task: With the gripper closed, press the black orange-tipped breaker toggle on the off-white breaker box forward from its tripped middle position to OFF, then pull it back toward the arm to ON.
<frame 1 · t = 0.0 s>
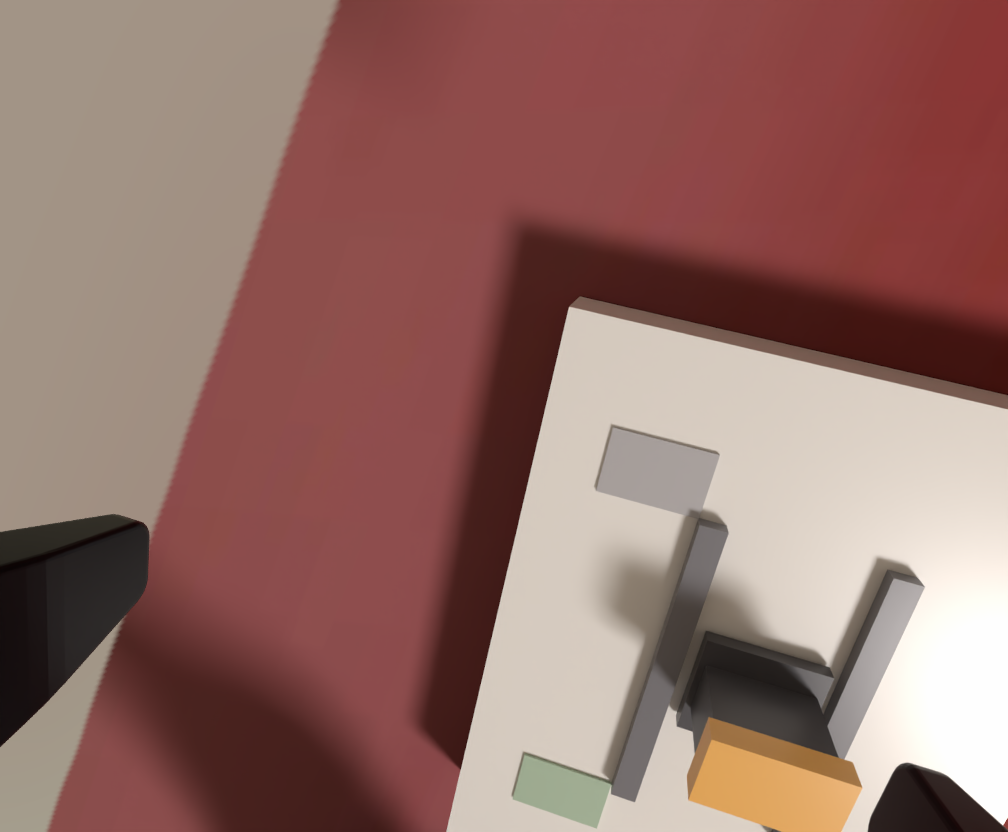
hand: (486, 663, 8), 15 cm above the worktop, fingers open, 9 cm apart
breaker box: (736, 632, 23), on the worktop
breaker toggle: (760, 738, 18), point 5 cm above the worktop, slide at 4.0 cm
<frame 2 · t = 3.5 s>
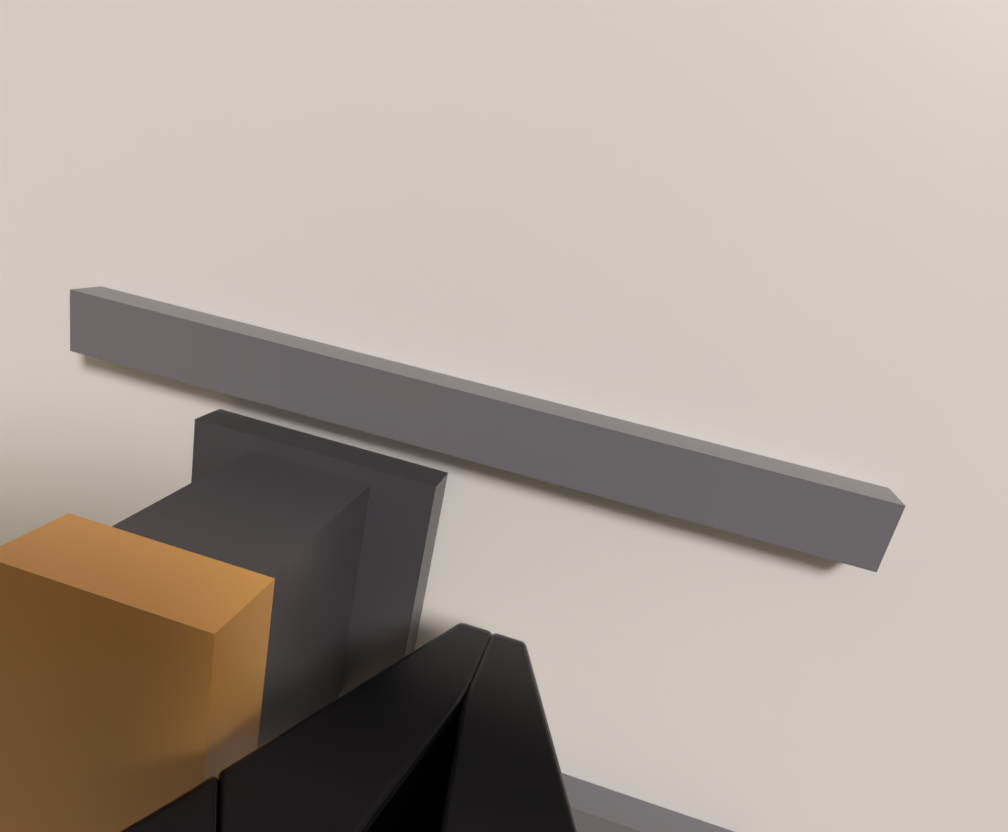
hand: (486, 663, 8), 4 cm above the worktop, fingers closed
breaker box: (475, 502, 12), on the worktop
breaker toggle: (231, 642, 7), point 5 cm above the worktop, slide at 5.5 cm, touching gripper
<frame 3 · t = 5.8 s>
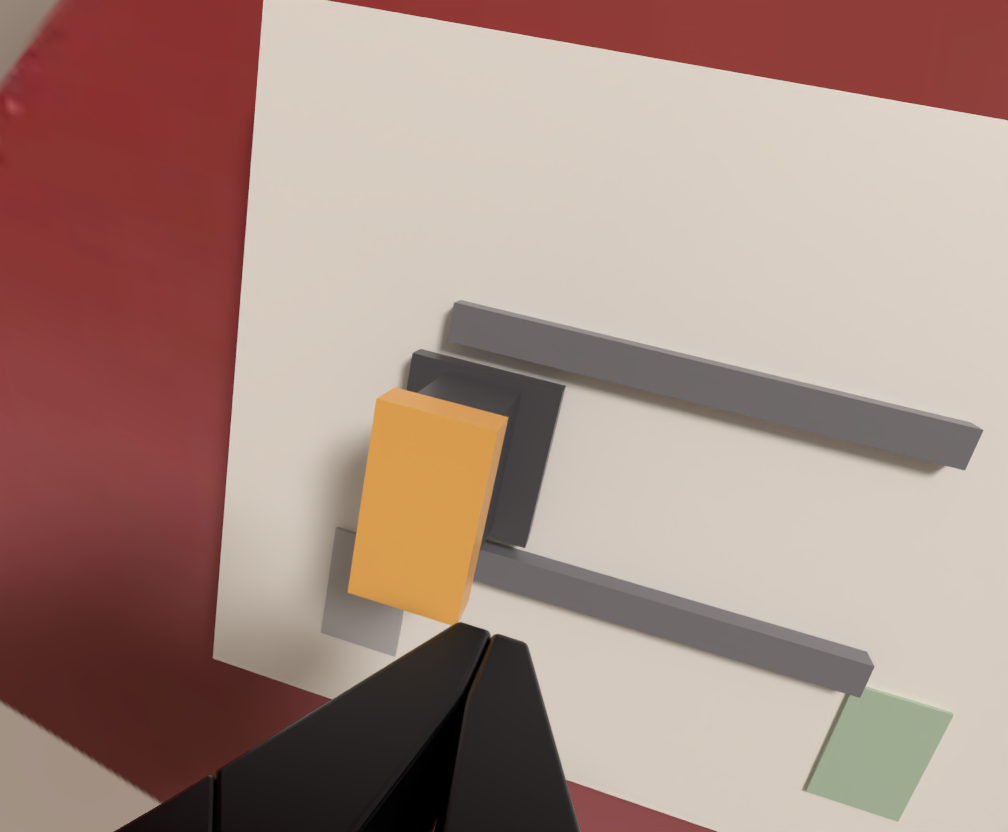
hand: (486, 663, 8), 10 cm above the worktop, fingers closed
breaker box: (658, 449, 17), on the worktop
breaker toggle: (451, 476, 12), point 5 cm above the worktop, slide at 8.1 cm
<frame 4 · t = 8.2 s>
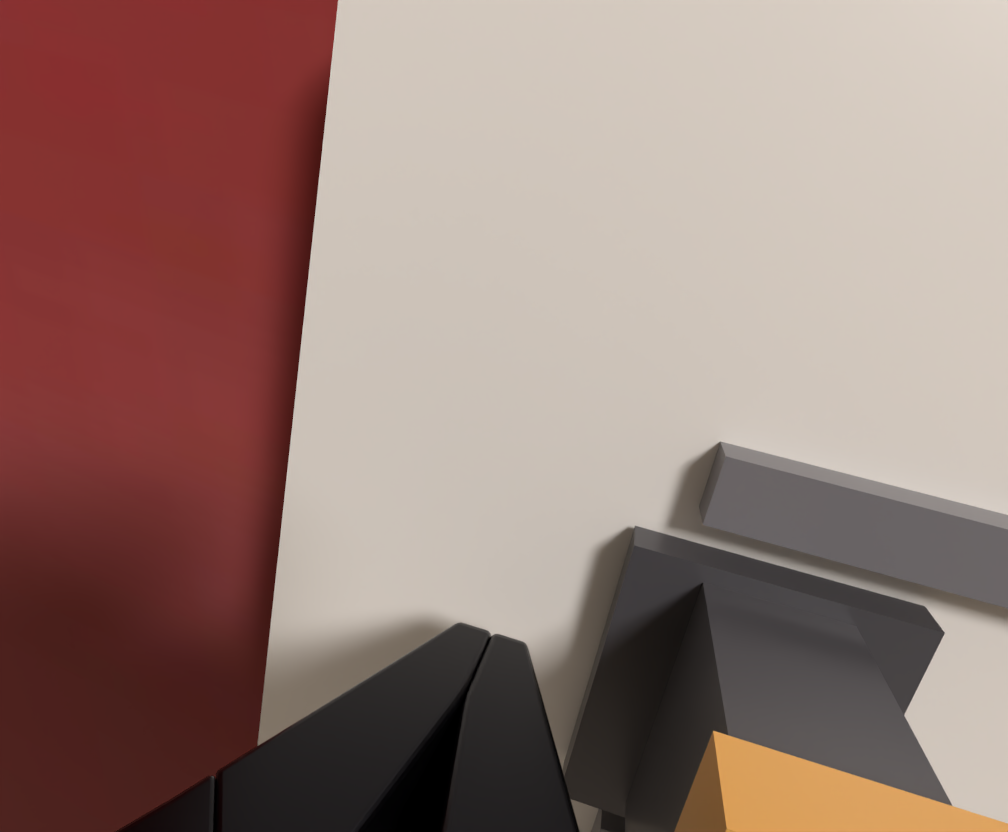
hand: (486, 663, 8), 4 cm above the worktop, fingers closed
breaker box: (960, 639, 10), on the worktop
breaker toggle: (750, 829, 6), point 5 cm above the worktop, slide at 8.0 cm, touching gripper
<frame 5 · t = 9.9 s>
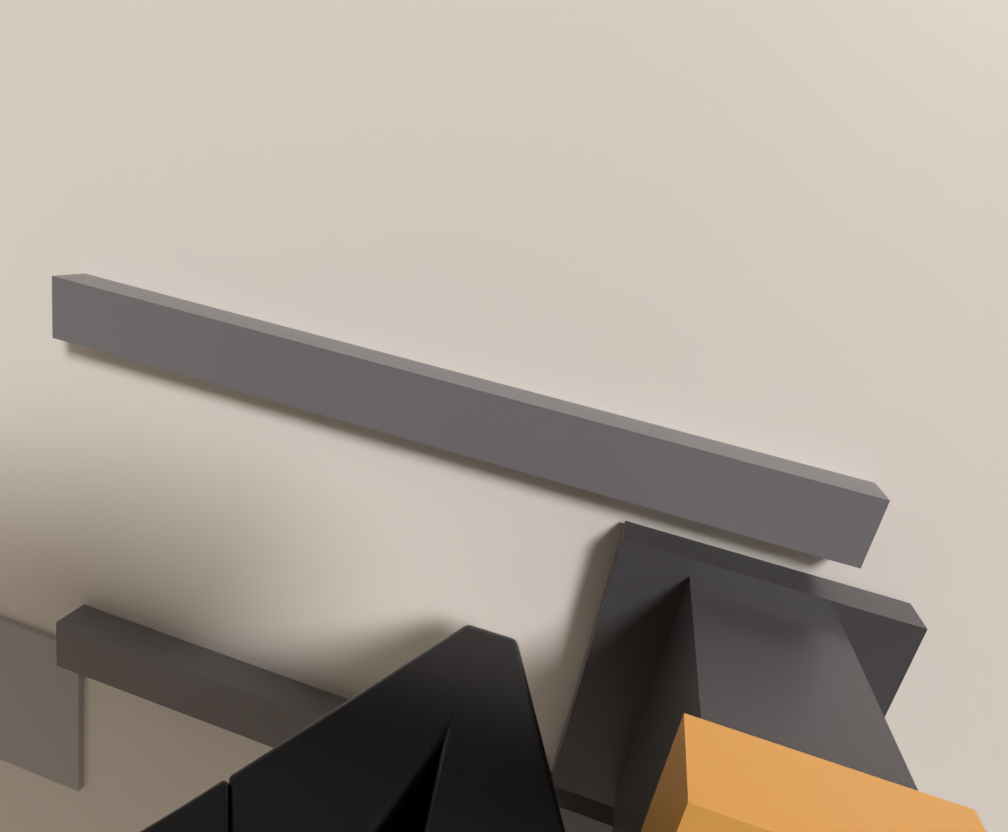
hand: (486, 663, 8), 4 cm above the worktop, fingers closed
breaker box: (464, 495, 12), on the worktop
breaker toggle: (730, 816, 6), point 5 cm above the worktop, slide at -0.2 cm, touching gripper
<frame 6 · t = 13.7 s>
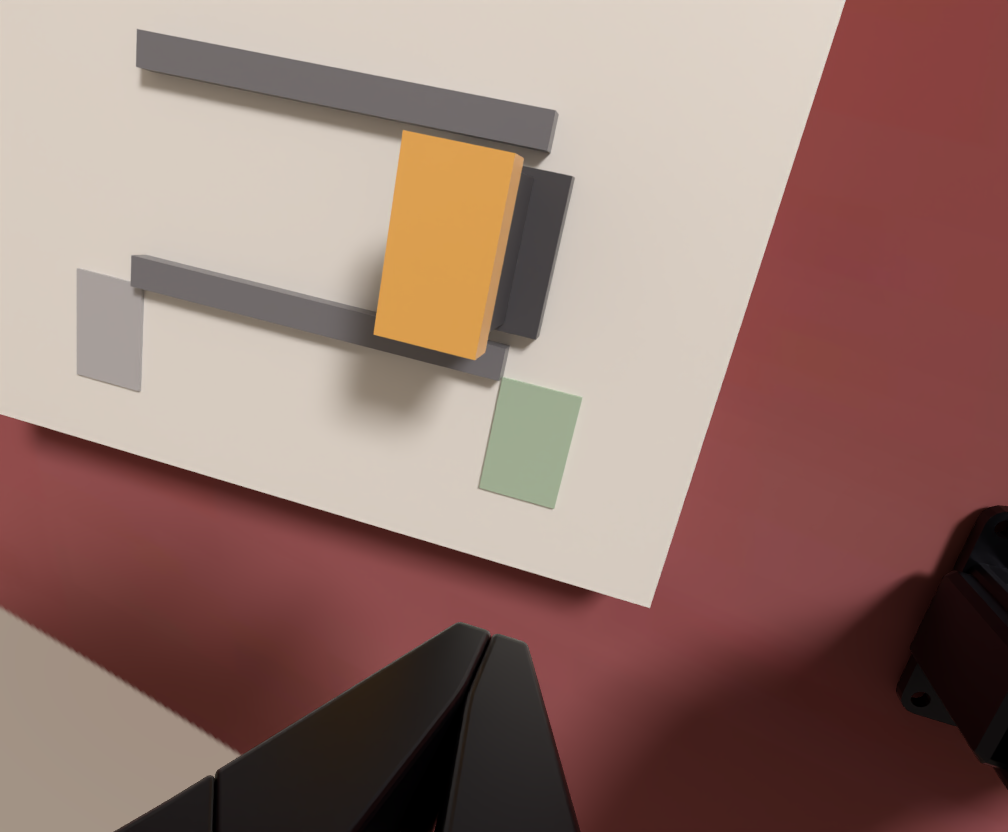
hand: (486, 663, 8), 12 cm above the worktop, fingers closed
breaker box: (378, 211, 19), on the worktop
breaker toggle: (468, 246, 13), point 5 cm above the worktop, slide at -0.1 cm
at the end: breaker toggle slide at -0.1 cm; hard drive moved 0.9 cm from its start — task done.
